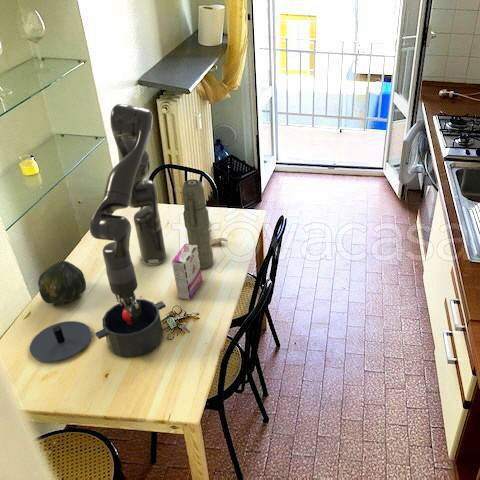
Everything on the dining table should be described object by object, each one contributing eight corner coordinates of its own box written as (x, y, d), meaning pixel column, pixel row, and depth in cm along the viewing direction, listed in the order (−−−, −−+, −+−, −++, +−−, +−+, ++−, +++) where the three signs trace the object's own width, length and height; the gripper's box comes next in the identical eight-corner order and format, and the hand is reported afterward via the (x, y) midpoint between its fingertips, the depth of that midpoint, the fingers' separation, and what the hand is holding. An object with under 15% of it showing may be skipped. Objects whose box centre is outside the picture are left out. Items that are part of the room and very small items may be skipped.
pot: (91, 341, 161) (84, 319, 156) (154, 310, 174) (150, 288, 169) (115, 371, 152) (108, 348, 146) (180, 336, 164) (176, 313, 159)
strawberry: (120, 320, 159) (117, 306, 156) (136, 313, 162) (132, 299, 159) (128, 329, 156) (125, 314, 153) (143, 321, 159) (140, 307, 156)
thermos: (188, 273, 192) (176, 190, 173) (191, 255, 202) (181, 175, 183) (212, 272, 193) (203, 189, 174) (214, 254, 203) (206, 174, 184)
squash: (22, 292, 172) (40, 269, 165) (51, 268, 185) (69, 246, 177) (56, 319, 175) (75, 298, 168) (83, 294, 188) (101, 273, 180)
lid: (22, 341, 161) (16, 327, 157) (78, 316, 171) (73, 302, 168) (43, 373, 150) (37, 358, 147) (101, 344, 161) (97, 329, 157)
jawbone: (208, 251, 205) (207, 247, 204) (189, 229, 220) (188, 225, 219) (228, 244, 209) (228, 239, 208) (208, 222, 224) (208, 218, 222)
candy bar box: (190, 279, 189) (185, 242, 180) (202, 281, 188) (198, 244, 179) (177, 298, 180) (171, 260, 171) (190, 300, 179) (185, 262, 170)
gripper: (145, 281, 147) (154, 325, 156) (122, 259, 156) (132, 303, 165) (120, 292, 143) (131, 337, 152) (98, 269, 151) (109, 313, 160)
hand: (131, 319), depth 158 cm, fingers closed on strawberry, 4 cm apart
